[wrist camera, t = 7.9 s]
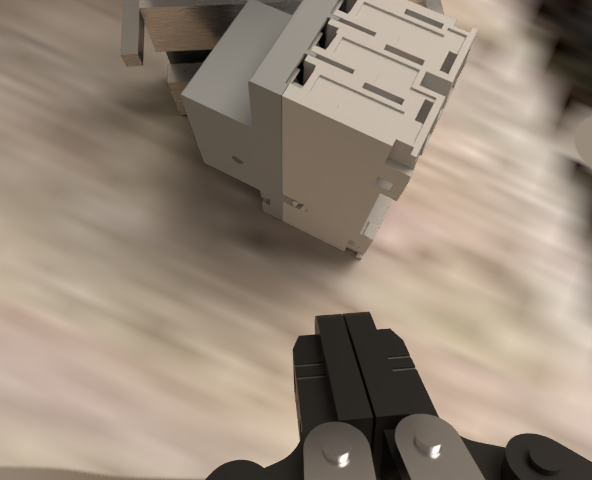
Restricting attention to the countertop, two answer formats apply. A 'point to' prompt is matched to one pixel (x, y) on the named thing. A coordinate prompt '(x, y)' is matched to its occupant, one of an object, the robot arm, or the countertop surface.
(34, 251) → the countertop surface
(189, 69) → the rail
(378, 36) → the circuit breaker
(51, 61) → the countertop surface
